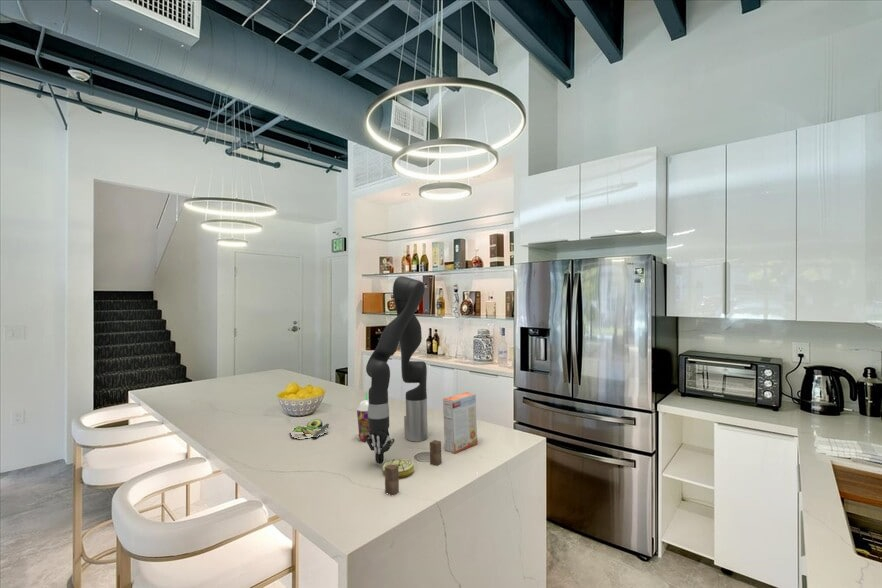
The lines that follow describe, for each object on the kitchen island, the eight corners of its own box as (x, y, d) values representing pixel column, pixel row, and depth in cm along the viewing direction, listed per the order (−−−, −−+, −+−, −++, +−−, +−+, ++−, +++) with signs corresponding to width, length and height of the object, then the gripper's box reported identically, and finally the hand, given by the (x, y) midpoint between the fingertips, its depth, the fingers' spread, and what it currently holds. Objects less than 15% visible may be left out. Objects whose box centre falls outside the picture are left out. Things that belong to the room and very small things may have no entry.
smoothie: (360, 444, 168) (359, 396, 168) (355, 438, 175) (354, 392, 176) (379, 440, 172) (378, 394, 172) (373, 435, 179) (372, 390, 179)
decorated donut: (391, 465, 146) (391, 455, 147) (418, 468, 143) (418, 458, 143) (377, 477, 137) (377, 466, 137) (406, 481, 133) (406, 470, 133)
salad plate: (333, 438, 178) (333, 427, 178) (291, 444, 171) (290, 433, 171) (328, 425, 195) (328, 416, 195) (289, 431, 188) (289, 421, 188)
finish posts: (385, 493, 125) (384, 467, 125) (434, 461, 149) (434, 439, 149) (392, 495, 123) (392, 469, 123) (441, 463, 147) (441, 441, 147)
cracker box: (466, 441, 169) (465, 391, 169) (477, 444, 165) (476, 393, 165) (443, 450, 159) (442, 397, 160) (454, 454, 155) (453, 400, 155)
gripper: (399, 414, 144) (400, 463, 144) (372, 410, 152) (373, 456, 151) (385, 420, 138) (386, 470, 138) (358, 415, 145) (359, 463, 145)
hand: (379, 463), depth 145 cm, fingers closed
